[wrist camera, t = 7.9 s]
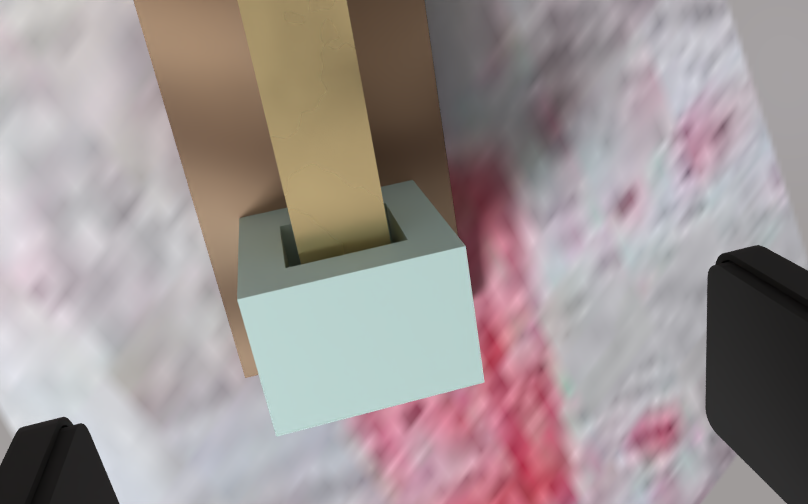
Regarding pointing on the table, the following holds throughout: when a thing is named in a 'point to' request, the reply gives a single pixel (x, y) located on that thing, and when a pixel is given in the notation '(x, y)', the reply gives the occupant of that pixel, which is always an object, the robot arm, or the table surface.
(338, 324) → the sage socket block
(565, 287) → the table surface
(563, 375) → the table surface
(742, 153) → the table surface
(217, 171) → the walnut base board
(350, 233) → the brass inner tube
